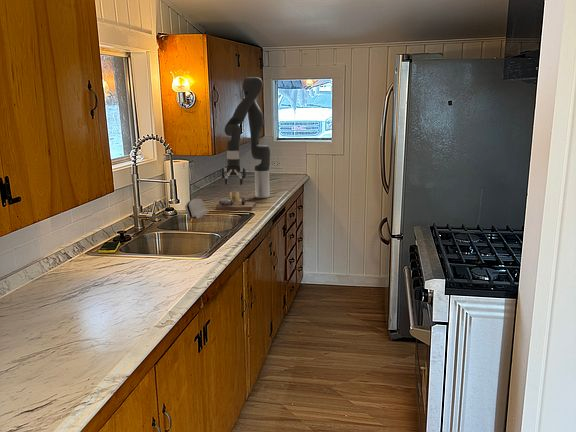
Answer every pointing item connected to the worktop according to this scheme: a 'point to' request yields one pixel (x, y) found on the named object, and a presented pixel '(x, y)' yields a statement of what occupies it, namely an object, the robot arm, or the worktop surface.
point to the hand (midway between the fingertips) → (234, 184)
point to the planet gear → (235, 196)
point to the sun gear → (226, 202)
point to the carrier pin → (243, 201)
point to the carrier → (237, 206)
